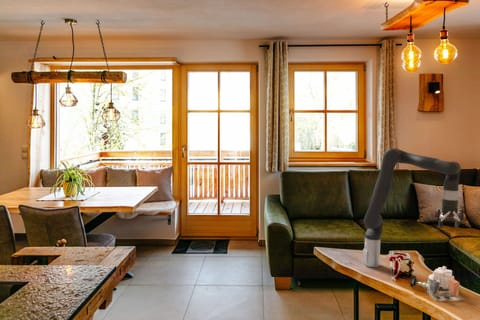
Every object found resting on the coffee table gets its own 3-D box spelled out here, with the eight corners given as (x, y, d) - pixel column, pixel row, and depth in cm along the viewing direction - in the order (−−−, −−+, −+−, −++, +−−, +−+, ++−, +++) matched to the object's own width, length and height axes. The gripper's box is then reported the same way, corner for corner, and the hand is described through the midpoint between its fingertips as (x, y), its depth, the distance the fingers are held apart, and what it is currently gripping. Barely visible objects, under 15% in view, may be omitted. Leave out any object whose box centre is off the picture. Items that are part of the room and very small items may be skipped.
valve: (437, 292, 193) (414, 285, 202) (438, 280, 192) (414, 273, 201) (432, 296, 189) (408, 288, 198) (432, 283, 188) (409, 276, 197)
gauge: (436, 301, 183) (437, 285, 182) (429, 295, 190) (429, 279, 189) (463, 301, 184) (464, 284, 183) (455, 295, 190) (456, 279, 189)
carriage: (454, 297, 184) (455, 283, 184) (448, 292, 190) (449, 279, 189) (460, 297, 185) (461, 283, 184) (453, 292, 190) (454, 279, 189)
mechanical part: (438, 282, 206) (439, 261, 205) (457, 291, 195) (459, 269, 194) (423, 285, 202) (424, 264, 201) (442, 294, 191) (443, 272, 190)
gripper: (440, 199, 195) (439, 229, 196) (467, 199, 195) (465, 229, 196) (433, 197, 202) (432, 225, 204) (459, 197, 202) (457, 226, 203)
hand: (448, 227), depth 200 cm, fingers open, 8 cm apart
